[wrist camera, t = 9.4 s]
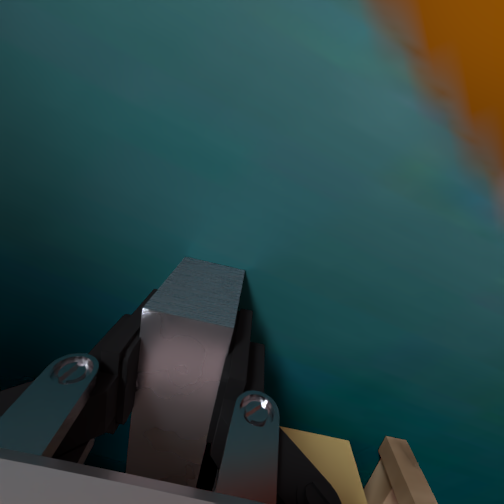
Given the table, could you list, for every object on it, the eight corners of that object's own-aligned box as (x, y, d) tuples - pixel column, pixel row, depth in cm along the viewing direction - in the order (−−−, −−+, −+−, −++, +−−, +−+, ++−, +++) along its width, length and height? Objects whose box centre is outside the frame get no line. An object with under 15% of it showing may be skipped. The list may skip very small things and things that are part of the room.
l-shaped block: (185, 256, 12) (142, 307, 8) (432, 313, 13) (517, 391, 8) (147, 508, 19) (111, 613, 14) (313, 543, 19) (326, 655, 15)
